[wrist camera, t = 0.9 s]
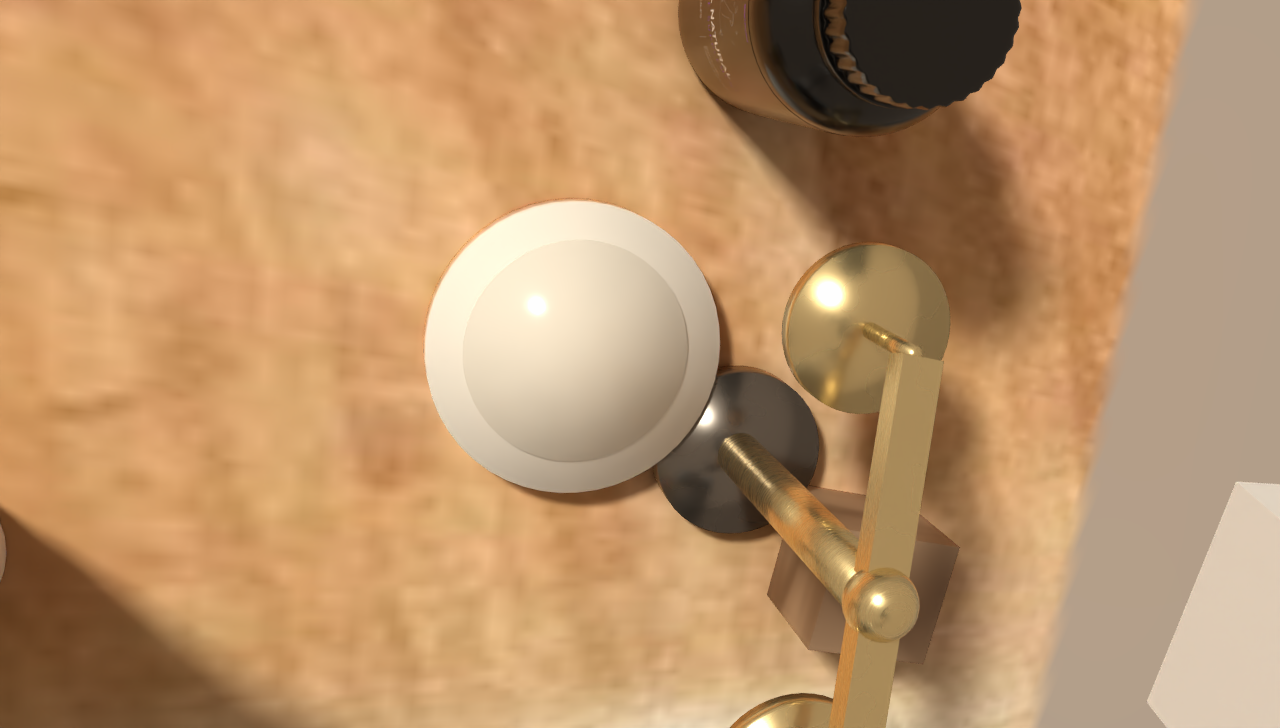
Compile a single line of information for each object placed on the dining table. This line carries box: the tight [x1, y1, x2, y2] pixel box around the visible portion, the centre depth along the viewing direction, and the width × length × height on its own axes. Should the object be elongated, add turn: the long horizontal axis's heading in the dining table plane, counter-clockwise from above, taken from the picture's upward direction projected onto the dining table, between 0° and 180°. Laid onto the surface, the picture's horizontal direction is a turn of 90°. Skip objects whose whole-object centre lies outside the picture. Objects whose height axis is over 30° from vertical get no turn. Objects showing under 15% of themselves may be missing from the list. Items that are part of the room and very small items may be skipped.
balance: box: [652, 242, 950, 728], centre depth 37 cm, size 18×6×15 cm, turn 166°
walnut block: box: [767, 486, 960, 664], centre depth 45 cm, size 4×4×4 cm
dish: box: [423, 198, 720, 493], centre depth 41 cm, size 10×10×1 cm
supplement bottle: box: [678, 0, 1021, 137], centre depth 35 cm, size 7×7×12 cm
